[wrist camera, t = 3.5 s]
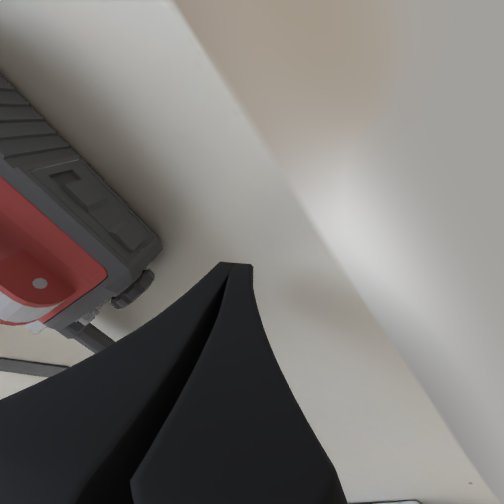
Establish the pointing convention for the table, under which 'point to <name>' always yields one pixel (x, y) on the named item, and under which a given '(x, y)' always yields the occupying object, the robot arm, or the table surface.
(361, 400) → the table surface
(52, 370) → the tape marks
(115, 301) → the walkie-talkie
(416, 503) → the skincare box
